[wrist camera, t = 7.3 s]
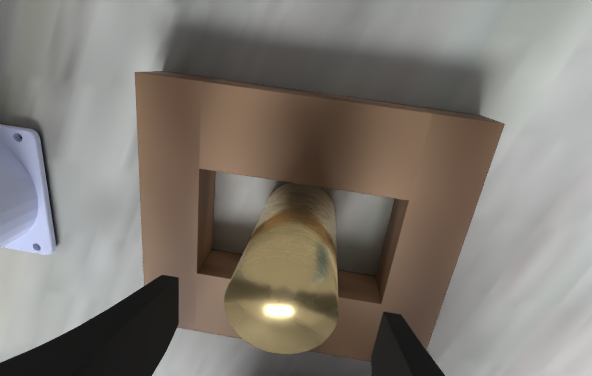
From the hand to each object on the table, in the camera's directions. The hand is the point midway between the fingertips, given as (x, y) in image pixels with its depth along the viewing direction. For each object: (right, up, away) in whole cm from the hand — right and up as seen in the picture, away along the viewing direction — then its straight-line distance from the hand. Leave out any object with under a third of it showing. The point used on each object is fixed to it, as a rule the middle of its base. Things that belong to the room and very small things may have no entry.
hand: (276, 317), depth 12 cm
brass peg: (+1, +3, +7) cm, 8 cm away
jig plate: (+1, +3, +8) cm, 8 cm away
